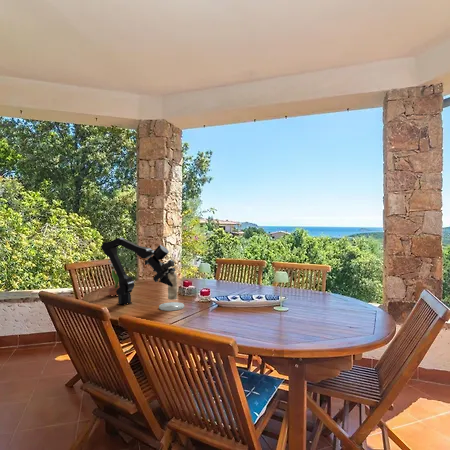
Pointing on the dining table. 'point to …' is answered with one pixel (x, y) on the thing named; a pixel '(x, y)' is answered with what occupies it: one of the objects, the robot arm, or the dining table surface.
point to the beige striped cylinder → (172, 290)
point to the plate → (171, 306)
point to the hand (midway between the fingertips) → (174, 285)
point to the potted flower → (114, 288)
